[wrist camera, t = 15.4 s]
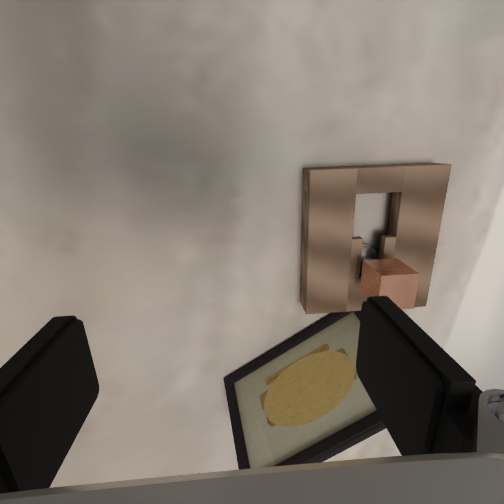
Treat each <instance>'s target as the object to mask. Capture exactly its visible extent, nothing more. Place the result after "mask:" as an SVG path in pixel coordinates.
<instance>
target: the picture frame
mask: <svg viewBox="0 0 504 504" xmlns="http://www.w3.org/2000/svg"><path fill="white" fill-rule="evenodd" d="M360 318H361V311H346V312H334V313H332V314H330V315H329V316H327V317H325V318H324V319H322V320H321V321H319V322H317V323H316V324H314V325H312V326H311V327H309V328H307V329H306V330H304V331H302V332H301V333H299V334H297V335H296V336H294V337H292V338H291V339H289V340H287V341H286V342H284V343H283V344H281V345H279V346H278V347H276V348H274V349H273V350H271V351H269V352H268V353H266V354H264V355H263V356H261V357H259V358H258V359H256V360H254V361H253V362H251V363H249V364H248V365H246V366H245V367H243V368H241V369H240V370H238V371H236V372H235V373H233V374H231V375H230V376H228V377H226V378H225V379H224V383H225V389H226V395H227V401H228V407H229V413H230V419H231V425H232V431H233V437H234V443H235V449H236V455H237V461H238V467H239V470H242V469H253V468H264V467H274V466H286V465H297V464H309V463H321V462H323V461H325V460H327V459H329V458H331V457H333V456H335V455H336V454H338V453H340V452H342V451H344V450H346V449H348V448H350V447H352V446H353V445H355V444H357V443H359V442H361V441H363V440H365V439H367V438H368V437H370V436H372V435H374V434H376V433H378V432H380V431H382V430H383V429H385V428H386V426H385V424H384V422H383V421H382V419H381V417H380V415H379V413H378V412H377V410H376V408H375V406H374V404H373V402H372V401H371V399H370V397H369V395H368V393H367V392H366V390H365V388H364V386H363V384H362V383H361V381H360V379H359V377H358V375H357V371H356V358H357V348H358V338H359V328H360Z"/></svg>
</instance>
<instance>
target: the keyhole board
mask: <svg viewBox="0 0 504 504" xmlns="http://www.w3.org/2000/svg"><path fill="white" fill-rule="evenodd" d="M450 170H451V164H440V163H416V164H391V165H366V166H342V167H317V168H303V195H302V241H301V287H300V302H301V304H302V306H303V308H304V311H305V313H306V314H316V313H331V312H346V311H361V308H362V303H363V302H364V301H367V299H366V298H365V296H364V295H363V294H362V293H361V292H360V285H361V276H359V275H360V264H361V253H362V243H363V239H362V238H361V237H352V235H353V223H354V211H355V198H356V194H365V193H387V192H393V194H392V203H391V211H390V219H389V227H388V235H382V237H381V246H380V255H379V259H392V258H397V259H399V260H400V261H402V262H403V263H405V264H406V265H408V266H409V267H410V268H412V269H413V270H415V271H416V272H418V273H419V274H420V276H419V281H418V287H417V293H416V299H415V305H414V307H422V306H426V303H427V297H428V292H429V286H430V281H431V275H432V269H433V264H434V258H435V253H436V247H437V242H438V236H439V231H440V225H441V220H442V214H443V209H444V203H445V198H446V192H447V186H448V181H449V175H450Z"/></svg>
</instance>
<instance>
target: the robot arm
mask: <svg viewBox="0 0 504 504" xmlns="http://www.w3.org/2000/svg"><path fill="white" fill-rule="evenodd" d="M356 371H357V375H358V377H359V379H360V381H361V383H362V384H363V386H364V388H365V390H366V392H367V393H368V395H369V397H370V399H371V401H372V402H373V404H374V406H375V408H376V410H377V412H378V413H379V415H380V417H381V419H382V421H383V422H384V424H385V426H386V428H387V430H388V431H389V433H390V435H391V437H392V439H393V440H394V442H395V444H396V446H397V448H398V449H399V451H400V453H401V455H402V456H393V457H379V458H367V459H355V460H344V461H332V462H321V463H309V464H297V465H286V466H274V467H264V468H253V469H242V470H231V471H220V472H209V473H199V474H188V475H177V476H167V477H156V478H145V479H135V480H125V481H115V482H105V483H95V484H85V485H75V486H65V487H55V488H49V487H50V485H51V483H52V481H53V480H54V478H55V476H56V474H57V472H58V470H59V468H60V466H61V465H62V463H63V461H64V459H65V457H66V455H67V453H68V451H69V449H70V448H71V446H72V444H73V442H74V440H75V438H76V436H77V434H78V433H79V431H80V429H81V427H82V425H83V423H84V421H85V419H86V417H87V416H88V414H89V412H90V410H91V408H92V406H93V404H94V402H95V401H96V399H97V396H98V393H99V383H98V379H97V375H96V371H95V368H94V364H93V360H92V356H91V352H90V348H89V344H88V340H87V336H86V333H85V329H84V325H83V322H82V321H81V320H78V319H77V318H76V317H75V316H59V317H54V318H52V319H51V320H50V321H49V322H48V323H47V324H46V325H45V326H44V327H43V328H42V329H41V330H40V331H38V332H37V333H36V334H35V335H34V336H33V337H32V338H31V339H30V340H29V341H28V342H27V343H26V344H25V345H24V346H23V347H22V348H21V349H20V350H19V351H18V352H17V353H16V354H15V355H14V356H13V357H11V358H10V359H9V360H8V361H7V362H6V363H5V364H4V365H3V366H2V367H1V368H0V504H504V390H501V389H491V390H486V391H484V392H482V391H481V390H480V389H479V388H478V387H477V386H476V385H475V383H476V381H475V379H473V378H472V377H471V376H470V375H469V374H468V373H467V372H466V371H465V370H464V369H463V368H462V367H461V366H460V365H459V364H458V363H457V362H456V361H455V360H454V359H453V358H452V357H450V356H449V355H448V354H447V353H446V352H445V351H444V350H443V349H442V348H441V347H440V346H439V345H438V344H437V343H436V342H435V341H434V340H433V339H432V338H431V337H430V336H428V335H427V334H426V333H425V332H424V331H423V330H422V329H421V328H420V327H419V326H418V325H417V324H416V323H415V322H414V321H413V320H412V319H411V318H410V317H409V316H408V315H407V314H405V313H404V312H403V311H402V310H401V309H400V308H399V307H398V306H397V305H396V304H395V303H394V302H393V301H392V300H391V299H390V298H389V297H387V296H371V297H368V298H367V301H364V302H363V303H362V308H361V318H360V328H359V338H358V348H357V358H356Z"/></svg>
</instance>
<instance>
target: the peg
mask: <svg viewBox="0 0 504 504" xmlns="http://www.w3.org/2000/svg"><path fill="white" fill-rule="evenodd" d="M359 276H361V285H360V292H361V293H362V294H363V295H364V296H365V298H366V299H367V298H368V297H371V296H387V297H389V298H390V299H391V300H392V301H393V302H394V303H395V304H396V305H397V306H398V307H399V308H400V309H411V308H414V305H415V299H416V293H417V287H418V281H419V276H420V274H419V273H418V272H416V271H415V270H413V269H412V268H410V267H409V266H408V265H406V264H405V263H403V262H402V261H400V260H399V259H397V258H392V259H379V253H378V252H377V251H376V250H375V249H374V248H372V247H371V246H370V245H368V244H365V243H362V253H361V264H360V275H359Z"/></svg>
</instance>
